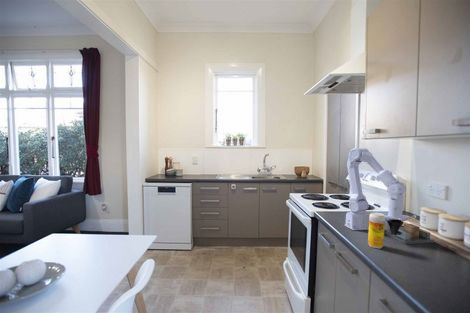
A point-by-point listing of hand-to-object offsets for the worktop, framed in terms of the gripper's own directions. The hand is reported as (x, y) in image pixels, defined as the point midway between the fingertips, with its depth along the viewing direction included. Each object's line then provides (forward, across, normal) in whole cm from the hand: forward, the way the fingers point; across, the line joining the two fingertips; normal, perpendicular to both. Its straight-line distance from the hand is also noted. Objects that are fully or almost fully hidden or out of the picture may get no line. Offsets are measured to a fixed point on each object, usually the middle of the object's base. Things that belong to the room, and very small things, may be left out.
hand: (393, 234), depth 119 cm
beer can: (+3, -15, -6) cm, 16 cm away
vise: (+2, +9, 0) cm, 9 cm away
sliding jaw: (+1, +3, 0) cm, 3 cm away
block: (+1, +10, 0) cm, 10 cm away
